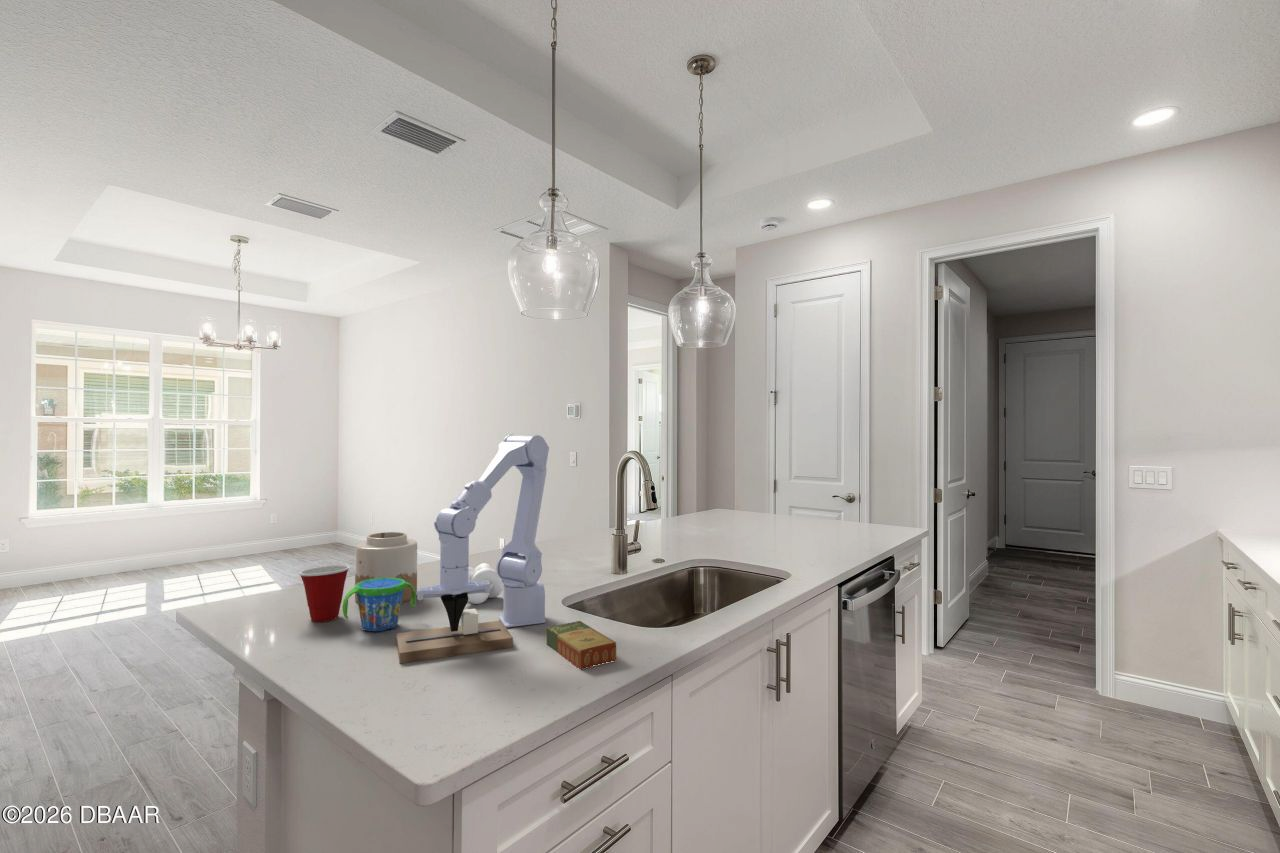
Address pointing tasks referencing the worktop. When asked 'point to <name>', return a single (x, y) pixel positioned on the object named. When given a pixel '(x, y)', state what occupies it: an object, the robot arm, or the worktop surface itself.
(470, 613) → the fader tab
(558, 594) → the worktop surface
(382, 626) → the snack cup
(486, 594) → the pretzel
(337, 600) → the plastic cup
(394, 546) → the vase
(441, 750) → the worktop surface
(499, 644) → the fader console
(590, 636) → the carton
